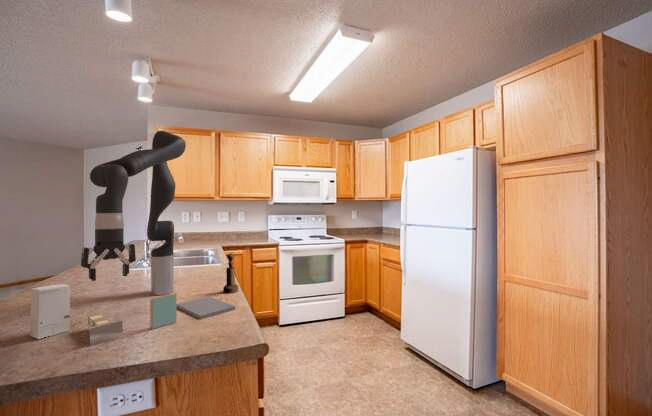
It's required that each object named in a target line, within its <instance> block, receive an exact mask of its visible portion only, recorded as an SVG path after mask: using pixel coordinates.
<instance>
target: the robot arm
mask: <svg viewBox="0 0 652 416" xmlns="http://www.w3.org/2000/svg"><path fill="white" fill-rule="evenodd" d="M151 141H152V144H151V148H149V149H139V150H136V151H132V152H130V153H128V154H126V155H124V156H121V157H119V158H118V159H114V160H113V159H112V160H111V161H107V162H103V163H101V164H98V165H95V167H93V168H92V169H91V171H90V173H89V180H90V182H91V183H92V184H94V186H97V187H99V188H105V191H104V193H102V194H99V195H98V196H96V199H95V218H94V246H93V247H85V246H84V247H82V249H81V258H80V267H82V268H85V269H88V279H89V280H91V282H96V281H97V269H96V267H97V266H98V264H100V263H101V262H102V261H108V260H116V259H118V260H119V261H120V262H122V277H128V275H129V273H130V264H131V263H135V262H137V261H136V257H137V256H136V245H135V244H134V243H128V244H125V243H124V236H125V235H124V234H125V233H124V230H125V229H124V227H125V223H124V216H123V213H124V212H123V208H124V207H123V201H124V197H125V194H126V191H127V188H128V184H129V178H130V177H134V176H136V175H138V174H140V173H142V172H144V171H145V170H147V169H149V168H152V173H151V174H152V175H151V185H150V204H149V205H150V206H149V215H148V219H147V220H148V221H147V228H146V236H147V239H148V240H149V241H150V242H163V241H164V243H163V244H162V245H160V246H158V247H155V248H153V249H151V251H150V294H151V295H153V296H163V295H168V294H172V293H174V283H175V282H174V281H175V280H174V279H175V278H174V275H175V274H174V273H175V272H174V269H175V268H174V240H175V239H174V237H175V224H174V222H173V221H172V220H159V218H160V217H161V215H162V213H163V212H164V211H165V210H166V209H167V208H168V207H169V206H170V205H171V203H172V202H173V200H174V199H175V194H176V182H175V179H174V176H173V175H172V173H171V170H170V168H169V165H168V162H169V161H172V160H173V161H174V160H175V159H178V158H180V157H181V156H182V155H183V154H184V153H185V150H186V147H187V145H186V141H185V139H184V138H183V137H182V136H180V135H176V134H174V133H171V132H168V131H164V130H157V131H156V132H155V134H154V135H153V137H152V140H151ZM125 249H126V251H128V258H127V257H126V256H125V255H124V254H123V252H124V250H125ZM92 252H94V254H96V255H95V256H94V257H93V258H92V260H91V262H89V256H90V255H91V254H92Z"/></svg>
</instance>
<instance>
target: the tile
mask: <svg viewBox="0 0 652 416" xmlns="http://www.w3.org/2000/svg"><path fill="white" fill-rule="evenodd" d="M176 304H177V293H176V292H172V293H169V294H164V295H157V296H154V297H150V298H149V329H150V330H155V329H159V328H163V327H166V326H169V325H173V324H176V323H177V307H176Z"/></svg>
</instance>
